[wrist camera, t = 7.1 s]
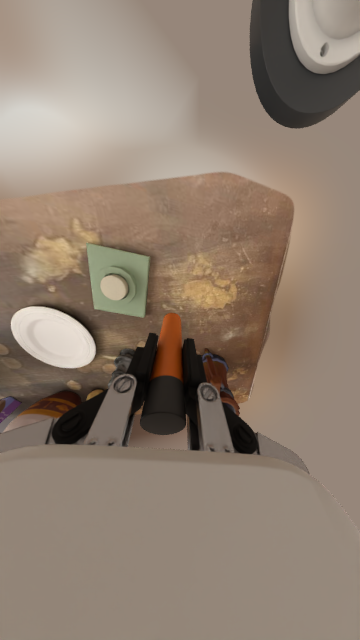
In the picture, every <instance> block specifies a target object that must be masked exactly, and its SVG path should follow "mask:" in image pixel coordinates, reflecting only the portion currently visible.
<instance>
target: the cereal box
mask: <svg viewBox="0 0 360 640" xmlns="http://www.w3.org/2000/svg"><path fill="white" fill-rule="evenodd" d="M21 403H22V402H20V401H18V400H16V399H15V398H13V397H11V396H9V397H6V398H4V399H1V400H0V423H1V422H2V421H3V420H4V419H5V418H6V417H7V416H8V415H10V414H11V413H12V412H13V411H14V410H15V409H16V408H17V407H18V406H19V405H20V404H21Z"/></svg>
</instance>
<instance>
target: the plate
mask: <svg viewBox="0 0 360 640" xmlns="http://www.w3.org/2000/svg"><path fill="white" fill-rule="evenodd" d="M11 330H12V333H13V335H14V338H15V339H16V340H17V342H18V343H19V345H20V346H21V347H22V348H23V349H25V350H26V351H27V352H28V353H29V354H31V355H32V356H34V357H35V358H37V359H39V360H41V361H43V362H45V363H47V364H50V365H53V366H57V367H62V368H78V367H83V366H85V365H87V364H89V363H90V362H91V361H92V360H93V359H94V357H95V354H96V345H95V342H94V339H93V337H92V336H91V334H90V333H89V331H88V330H87V329H86V328H85V327H84V326H83V325H82V324H81V323H80V322H79V321H77V320H76V319H74V318H73V317H71V316H70V315H68V314H65V313H63V312H61V311H59V310H56V309H52V308H48V307H43V306H31V307H27V308H23V309H21V310H19V311H18V312H16V313H15V314H14V316H13V318H12V320H11Z"/></svg>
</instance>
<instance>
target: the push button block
mask: <svg viewBox="0 0 360 640" xmlns="http://www.w3.org/2000/svg"><path fill="white" fill-rule="evenodd" d="M86 245H87V254H88V262H89V270H90V278H91V287H92V295H93V303H94V309H98V310H103V311H109V312H115V313H121V314H126V315H132V316H138V317H145V313H146V302H147V290H148V279H149V267H150V257H149V256H145V255H141V254H136V253H132V252H127V251H123V250H118V249H114V248H110V247H105V246H101V245H96V244H92V243H86ZM112 274H116V275H119V276H121V277H123V278H124V279H125V280H126V282H127V284H128V287H129V291H128V293H127V295H126V296H125V297H124V298H122V299H121V300H111V299H109V298H107V297H106V296H105V295H104V294H103V292H102V291H101V288H100V283H101V280H102V279H103V278H104V277H106V276H108V275H112Z"/></svg>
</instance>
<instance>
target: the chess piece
mask: <svg viewBox="0 0 360 640" xmlns="http://www.w3.org/2000/svg"><path fill="white" fill-rule="evenodd" d="M134 353H135V351H133V350H131V349H123V350H122V351H121V352H120V356H118V357H117V358H116V359H115V360H114V364H115V366H116V367H117V368H116V370H115V371H114V372H113V373H112V378H111V380H110V381H109V383H108V388H109V387H110V385H111V383H112V382H113V380H114V379H115V378H116V377H118V376H120V375H122V374H126V372H127V369H128V367H129V365H130V362H131V360H132V358H133V355H134Z"/></svg>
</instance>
